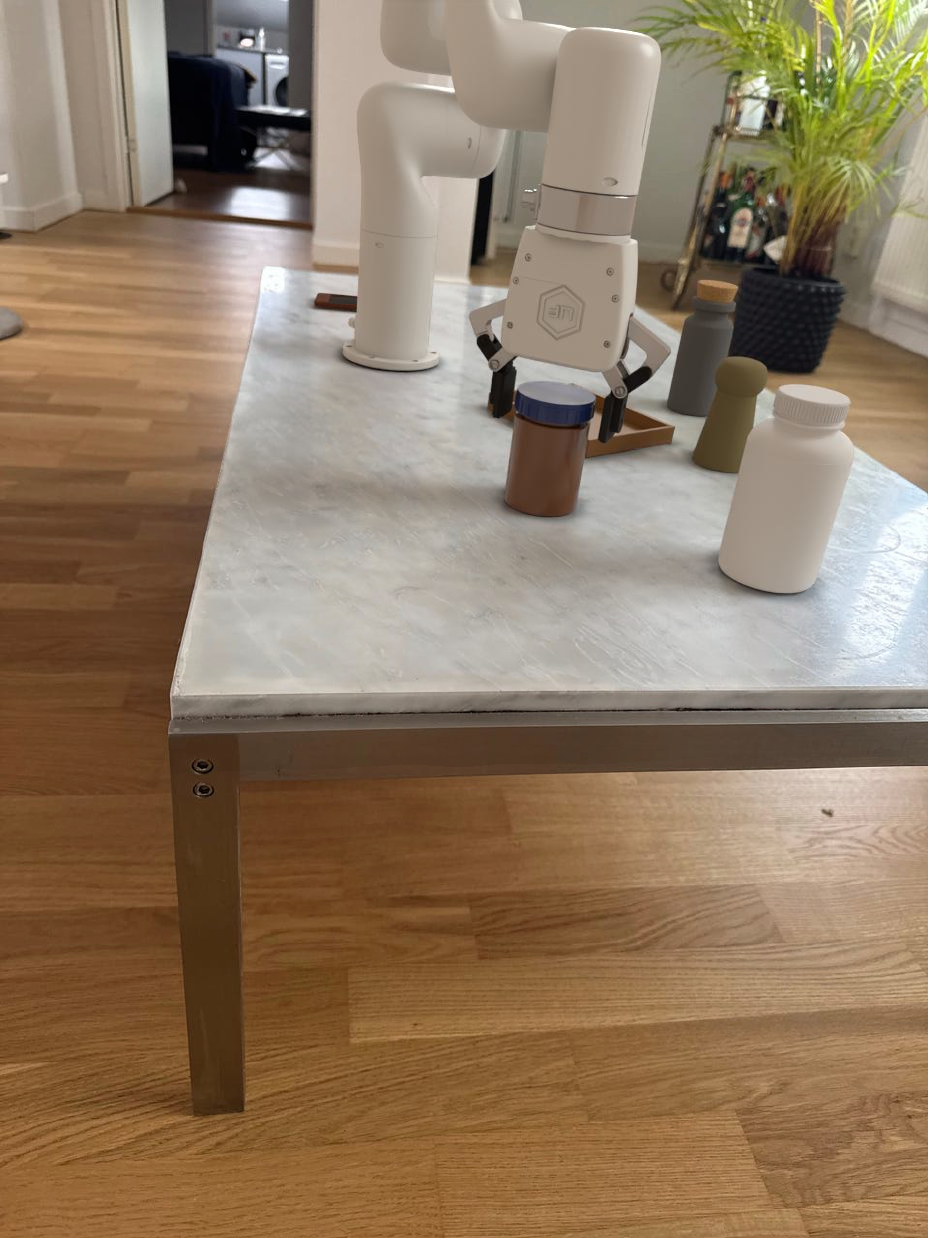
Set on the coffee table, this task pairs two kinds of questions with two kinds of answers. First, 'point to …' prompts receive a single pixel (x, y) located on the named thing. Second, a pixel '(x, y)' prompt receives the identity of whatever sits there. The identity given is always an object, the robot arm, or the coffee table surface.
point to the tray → (633, 434)
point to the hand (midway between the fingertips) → (553, 426)
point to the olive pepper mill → (730, 414)
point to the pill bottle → (788, 491)
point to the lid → (555, 402)
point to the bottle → (702, 348)
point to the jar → (545, 466)
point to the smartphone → (336, 301)
